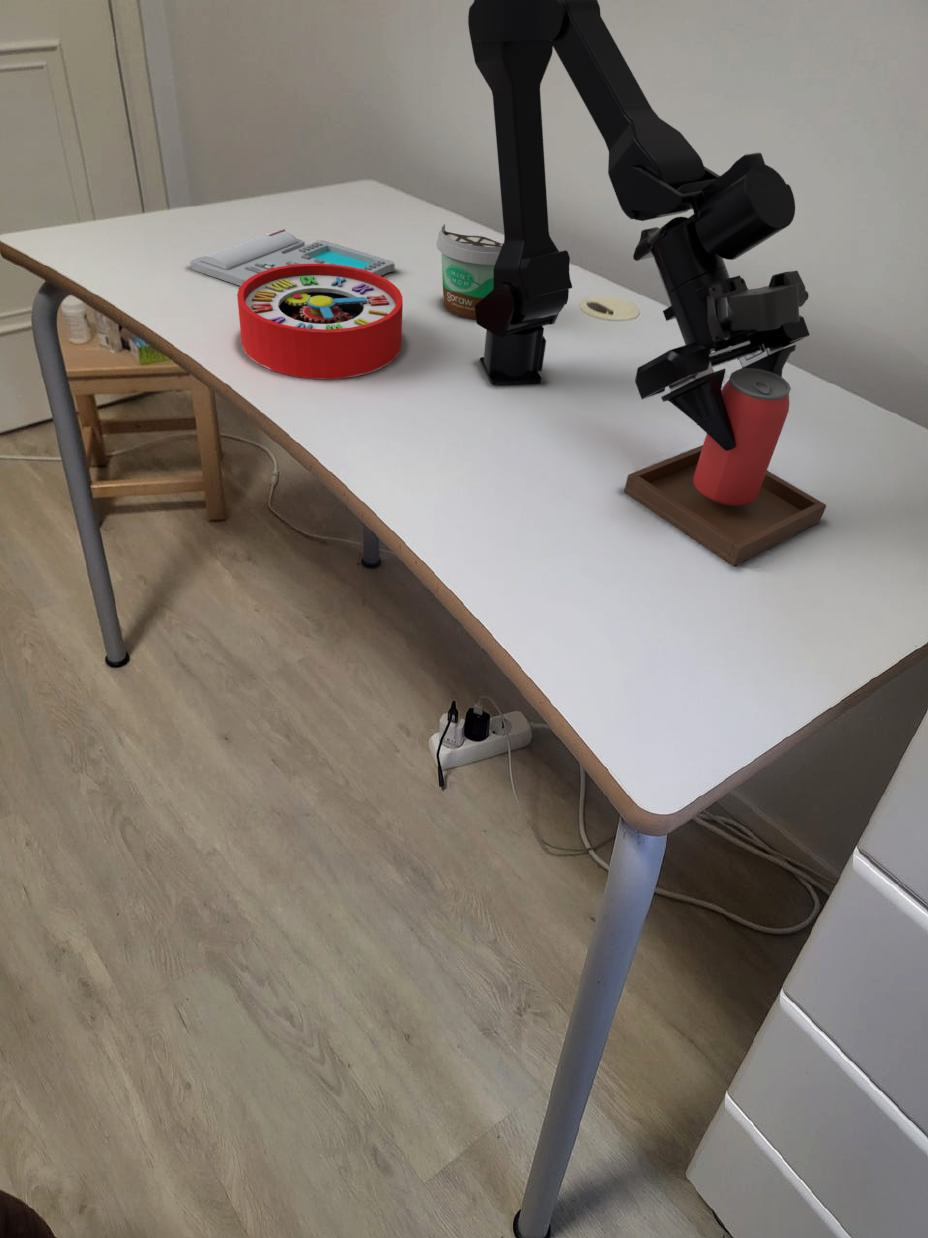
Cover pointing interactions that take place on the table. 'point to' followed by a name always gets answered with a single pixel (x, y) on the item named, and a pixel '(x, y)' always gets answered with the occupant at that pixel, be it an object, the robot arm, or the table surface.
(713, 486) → the beer can
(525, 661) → the table surface
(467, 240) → the food container
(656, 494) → the tray
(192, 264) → the office telephone
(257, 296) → the toy clock
